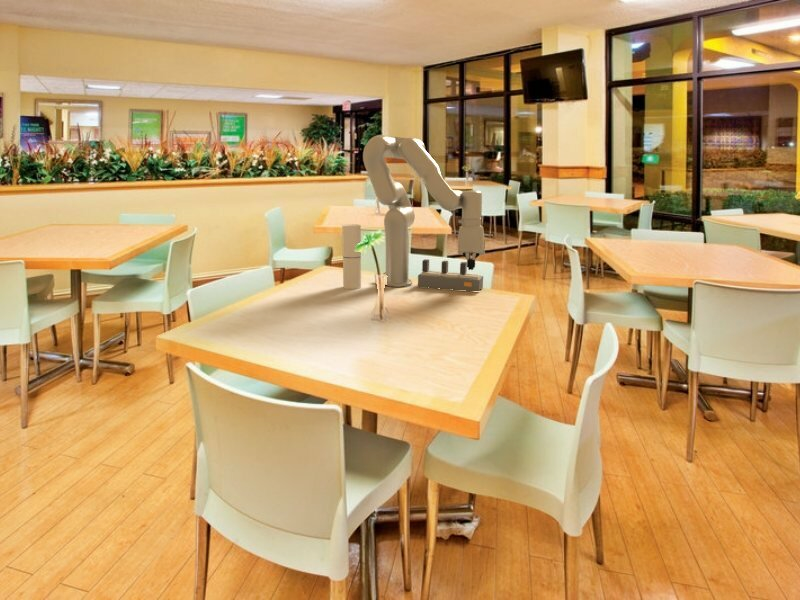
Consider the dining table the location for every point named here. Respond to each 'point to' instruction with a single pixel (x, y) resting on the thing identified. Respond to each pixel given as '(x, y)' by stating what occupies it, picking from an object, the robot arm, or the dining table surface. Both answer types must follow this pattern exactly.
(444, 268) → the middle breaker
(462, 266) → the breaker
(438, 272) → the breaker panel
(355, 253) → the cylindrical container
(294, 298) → the dining table surface
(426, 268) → the peg
